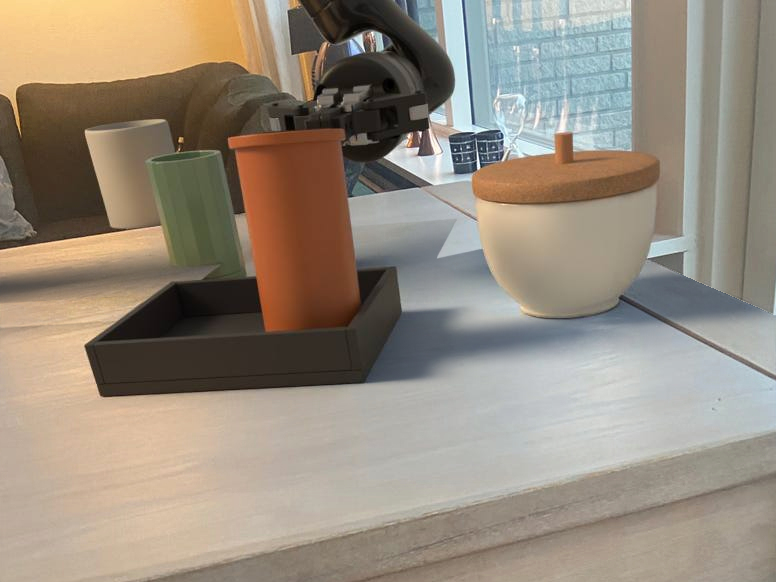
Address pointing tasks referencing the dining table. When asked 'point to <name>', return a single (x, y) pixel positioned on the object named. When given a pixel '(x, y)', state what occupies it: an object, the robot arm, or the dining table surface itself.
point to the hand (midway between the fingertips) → (322, 132)
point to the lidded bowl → (567, 226)
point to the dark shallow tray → (237, 340)
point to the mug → (128, 168)
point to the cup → (197, 211)
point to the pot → (299, 227)
